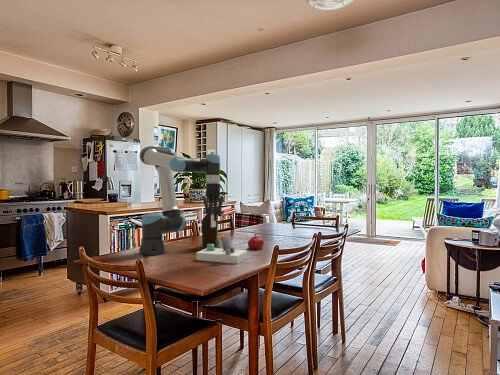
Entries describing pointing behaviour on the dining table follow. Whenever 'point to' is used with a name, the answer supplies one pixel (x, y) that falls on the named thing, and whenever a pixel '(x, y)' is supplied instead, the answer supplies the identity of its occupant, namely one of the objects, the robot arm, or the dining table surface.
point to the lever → (225, 241)
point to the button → (210, 247)
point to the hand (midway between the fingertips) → (213, 226)
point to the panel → (222, 255)
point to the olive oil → (208, 232)
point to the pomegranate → (255, 242)
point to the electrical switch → (220, 243)
